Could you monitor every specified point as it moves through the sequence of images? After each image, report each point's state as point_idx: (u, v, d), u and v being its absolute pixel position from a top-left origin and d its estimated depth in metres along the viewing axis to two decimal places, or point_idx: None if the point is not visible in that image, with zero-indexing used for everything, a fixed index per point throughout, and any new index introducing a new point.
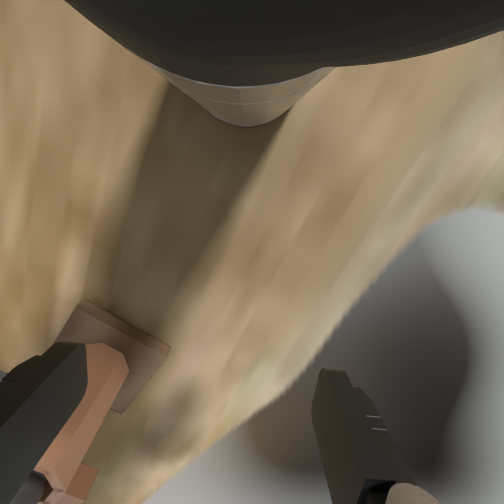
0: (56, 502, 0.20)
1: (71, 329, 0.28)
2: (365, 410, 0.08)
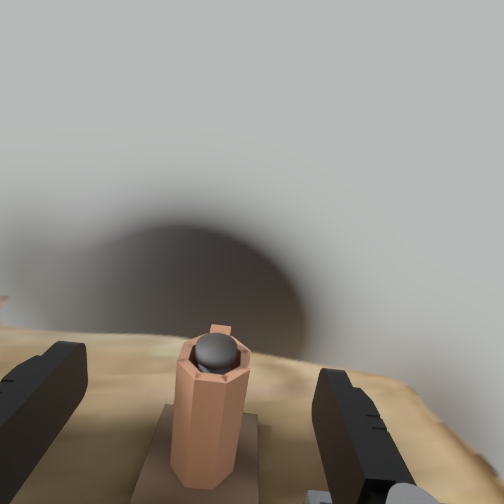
0: None
1: None
2: (365, 410, 0.08)
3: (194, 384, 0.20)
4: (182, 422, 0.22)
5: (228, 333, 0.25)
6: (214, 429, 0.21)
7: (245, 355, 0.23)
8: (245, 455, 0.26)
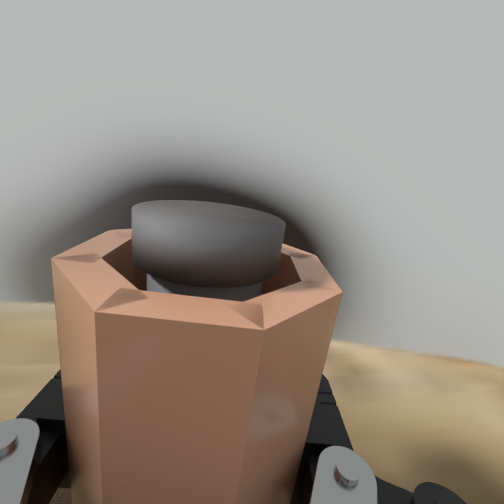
0: None
1: None
2: (319, 388, 0.09)
3: (97, 338, 0.04)
4: (86, 500, 0.06)
5: None
6: None
7: (307, 262, 0.07)
8: None
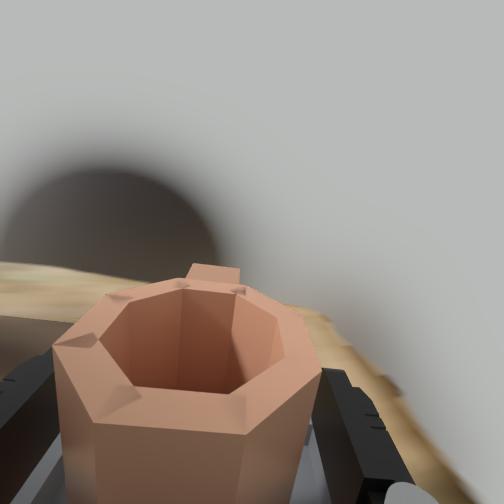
0: (224, 283, 0.09)
1: None
2: (364, 409, 0.08)
3: (96, 443, 0.04)
4: None
5: (235, 279, 0.10)
6: None
7: (292, 327, 0.07)
8: None
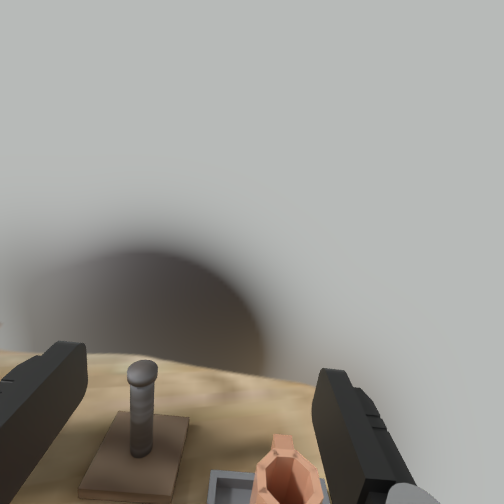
0: (289, 449, 0.27)
1: (105, 483, 0.31)
2: (365, 410, 0.08)
3: None
4: None
5: (292, 446, 0.27)
6: None
7: (314, 476, 0.25)
8: (172, 447, 0.36)
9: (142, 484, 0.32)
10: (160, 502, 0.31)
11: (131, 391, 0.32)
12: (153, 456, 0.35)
